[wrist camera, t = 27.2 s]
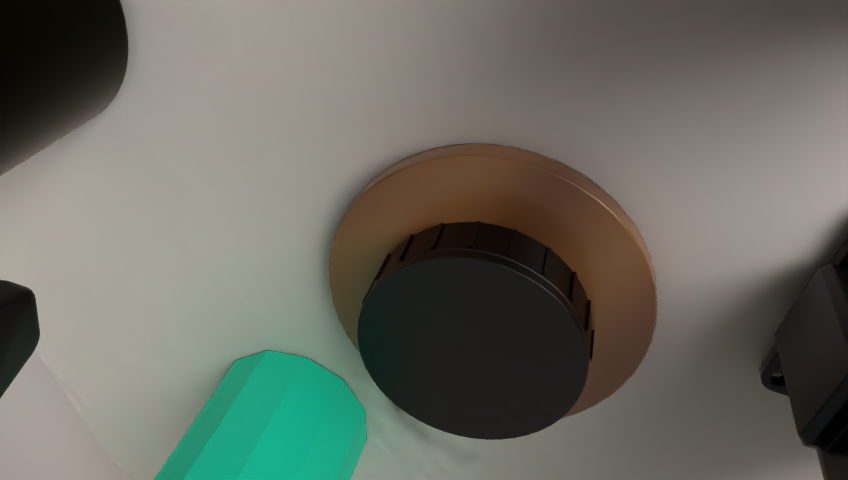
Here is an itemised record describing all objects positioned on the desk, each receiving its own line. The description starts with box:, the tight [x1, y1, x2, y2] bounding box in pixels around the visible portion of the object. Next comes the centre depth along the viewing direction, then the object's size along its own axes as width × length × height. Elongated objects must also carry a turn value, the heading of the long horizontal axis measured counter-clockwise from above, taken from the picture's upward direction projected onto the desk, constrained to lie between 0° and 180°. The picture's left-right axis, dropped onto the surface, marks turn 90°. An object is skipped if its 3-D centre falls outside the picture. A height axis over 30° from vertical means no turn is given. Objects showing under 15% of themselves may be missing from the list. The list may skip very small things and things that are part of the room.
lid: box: [357, 221, 595, 440], centre depth 21 cm, size 7×7×2 cm
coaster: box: [329, 144, 657, 418], centre depth 22 cm, size 10×10×1 cm
